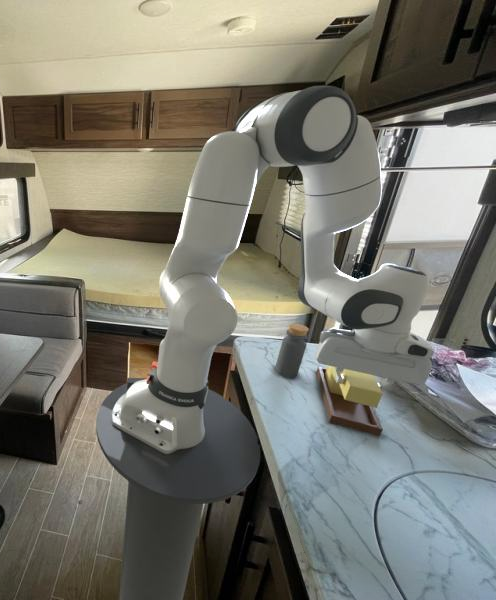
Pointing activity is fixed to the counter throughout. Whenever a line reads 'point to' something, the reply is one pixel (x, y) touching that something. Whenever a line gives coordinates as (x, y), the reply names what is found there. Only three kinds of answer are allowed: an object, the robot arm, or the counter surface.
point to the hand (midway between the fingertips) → (358, 386)
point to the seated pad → (332, 380)
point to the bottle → (292, 351)
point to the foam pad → (361, 388)
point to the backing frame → (348, 410)
